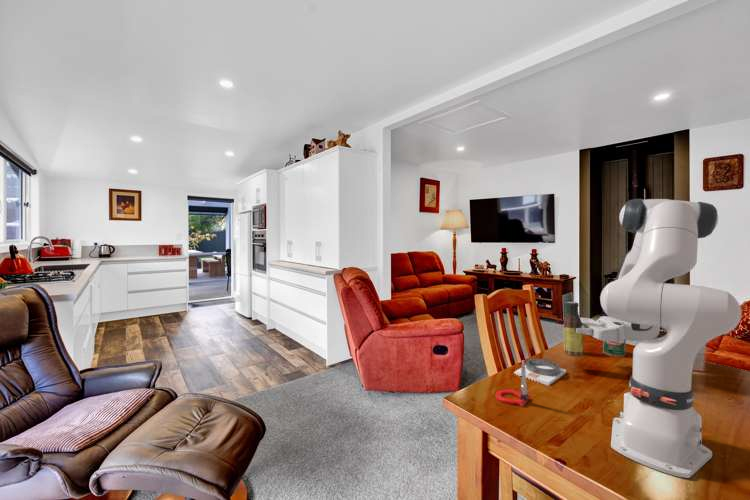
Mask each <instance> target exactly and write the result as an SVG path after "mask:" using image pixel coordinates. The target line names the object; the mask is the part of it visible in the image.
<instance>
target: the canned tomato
mask: <svg viewBox="0 0 750 500" xmlns="http://www.w3.org/2000/svg"><path fill="white" fill-rule="evenodd" d="M602 342H603V344H602V353H604V354H605V353H606V355H609V356H612V355H614V357H625V356H626V346H627V345H626V343H627V341H626V340H624V343H616V342H610V341H602Z"/></svg>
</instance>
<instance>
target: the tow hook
mask: <svg viewBox="0 0 750 500" xmlns="http://www.w3.org/2000/svg"><path fill="white" fill-rule="evenodd" d="M525 365H526V363H525V359H523V360H521V367H520V368H521V376H522V377H521V385H520V391H521V392H520V391H516V390H512V389H499V390H498V391H496V392H495V398H496V399H497V400H498V401H500V402H502V403H506V404H511V405H519V406H520V407H524V406H525V405H526V404H527V403H528V401H529V400H530V398H531V396H530V394H529V393H528V386H527V378H526V369H525ZM502 395H514V396H515V397H518V398H519V399H518V398H515V399H510V398H507V397H503V396H502Z"/></svg>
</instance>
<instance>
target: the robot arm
mask: <svg viewBox="0 0 750 500" xmlns="http://www.w3.org/2000/svg"><path fill="white" fill-rule="evenodd" d="M618 215H619V217H618V218H619V223H620V227H621V228H622V229H623V230H624V231H626V232H630V233H632V234H635V236H634V241H633V244H632V247H631V248H630V249H631V250H628V251H627V253H626V254H625V255H624V257H623V259H622V262H621V264H620V266H619V269H618V272H617V275H616V277H615V279H614V280H613V281H611V282H609V283H607V284H606V285H605V286H604V288H603V289H602V290H601V292H600V296H599V299H600V300H599V301H600V306H601V309H602V311H603V312H604V313H605V314H606V316H605V315H603V316H599V318H598V319H596V320H595V319H593V318H589V317H580V320H581V322H582V328H575V332H576V333H582V334H583V335H588V336H591V337H592V338H594V339H595V340H599V341H602V342H603V341H610V342H616V343H624V340H627V341H631V342H632V341H633V342H639V343H638V344H636V345H635V347H634V348H633V351H632V374H631V375H630V379H629V382H628V385H629V387H628V388H629V389H628V392H626V393H623V394H624V395H623V411H619V415H618V416H619V417H614V418H613V420H612V426H611V427H612V428H611V437H610V438H611V440H610V447H611V448H612V449H613V450H614V451H616V452H617V453H619V454H621V455H622V456H623V457H626V458H628V459H630V460H632V461H633V462H636V463H638V464H641V465H644V466H646V467H648V468H652V469H654V470H657V471H659V472H661V473H665V474H668V475H671V476H675V477H679V478H685V479H689V478H692V477H693V475H695V474H696V473H697V472H698V471H699V470H700V469H702V467H703V466H704V465H705V464H706V463H707V462H708V461H709V460H710V459H712V458H713V451H712V450H711V449H709V448H708V447H707V446H705V445H704V444H702V443H703V442H702V438H703V436H702V430H703V429H702V428H703V426H702V416H701V415H700V414H699V413H698V412H697V410H695V409H694V407H693V406H694V400H695V394H694V388H692V380H693V379H692V376H693V371H694V370H693V364H694V360H695V357H696V355H697V353H698V352H699V350H700V349H701V348H702V347H703V346H704V345H705V344H706V345H707V343H709V342H710V341H712V340H713V339H716V338H718V337H720V336H723V335H725V334H728V333H731V331H734V329H736V328H737V326H738V325H739V323H740V322H741V319H742V308H741V306H740V303H739V302H738V300H737V298H735V296H734V295H732V294H731V293H730V292H728V291H725V290H721V289H718V288H713V287H708V286H704V285H693V284H692V285H691V284H682V283H681V284H679V283H667V281H668V280H670V279H671V280H672V279H674V278H677V277H678V278H679V277H680V276H684V275H687V273H689V272H690V271H691V270H693V269H694V268H695V267H696V265H697V260H698V245H699V244H698V243H699V239H705V238H706V237H708V236H710V235H712V233H713V232H714V230H715V229H716V227H717V225H718V224H719V214H718V210H717V208H716V206H714V204H712V203H708V202H705V201H704V202H702V201H698V202H696V201H695V202H694V201H689V200H688V201H687V200H679V199H678V200H677V199H669V198H648V199H642V198H634V199H629V200H628V201H627V202H625V204H624V205H623V206H622V208H621V210H620V212H619V214H618ZM660 328H661V329H664V330H665V331H666V334H665V335H663V336H661V337H658V336H659V335H660V331H661V329H660Z"/></svg>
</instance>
